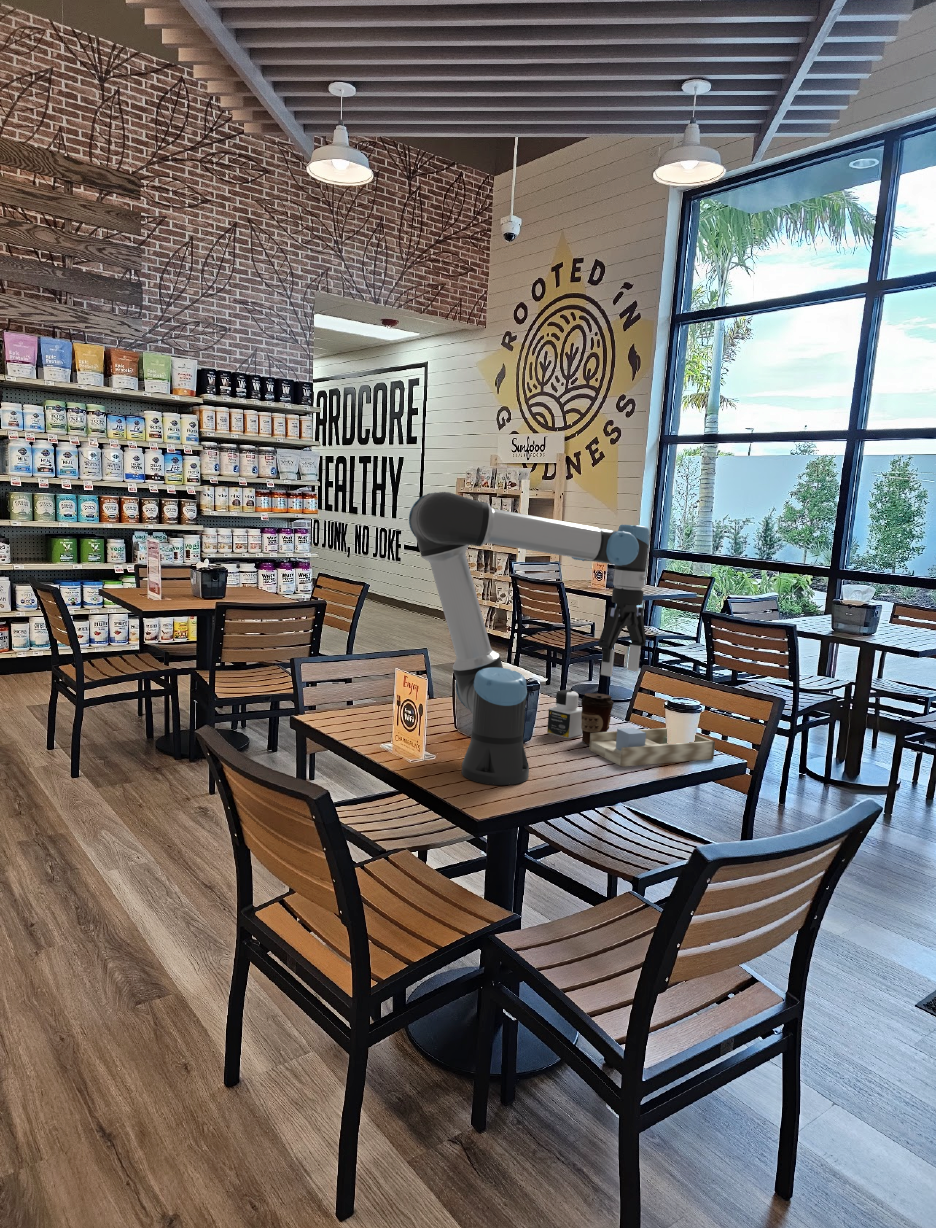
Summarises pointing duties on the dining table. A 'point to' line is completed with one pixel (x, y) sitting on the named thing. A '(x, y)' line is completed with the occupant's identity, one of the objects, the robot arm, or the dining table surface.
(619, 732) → the slate block
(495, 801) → the dining table surface
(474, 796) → the dining table surface
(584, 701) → the coffee cup
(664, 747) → the serving tray
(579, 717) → the medicine bottle
